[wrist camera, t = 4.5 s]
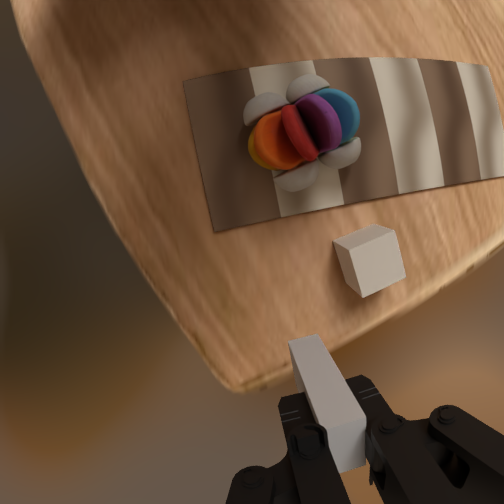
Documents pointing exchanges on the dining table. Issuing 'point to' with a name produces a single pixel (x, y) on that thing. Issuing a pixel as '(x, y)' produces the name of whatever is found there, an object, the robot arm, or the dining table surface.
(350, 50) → the dining table surface
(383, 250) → the cube
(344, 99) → the rainbow segmented toy
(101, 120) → the dining table surface
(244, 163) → the striped mat
